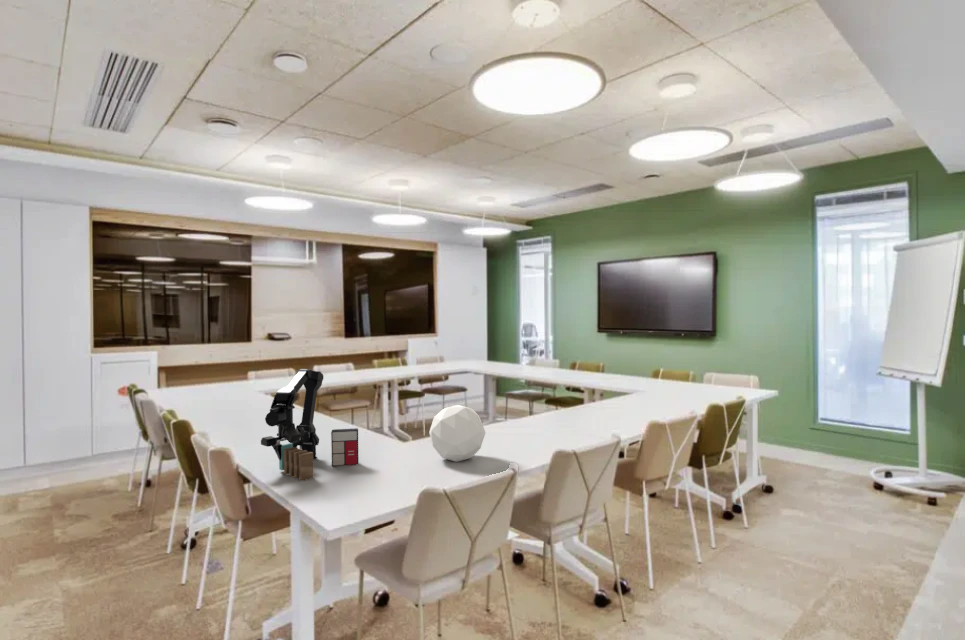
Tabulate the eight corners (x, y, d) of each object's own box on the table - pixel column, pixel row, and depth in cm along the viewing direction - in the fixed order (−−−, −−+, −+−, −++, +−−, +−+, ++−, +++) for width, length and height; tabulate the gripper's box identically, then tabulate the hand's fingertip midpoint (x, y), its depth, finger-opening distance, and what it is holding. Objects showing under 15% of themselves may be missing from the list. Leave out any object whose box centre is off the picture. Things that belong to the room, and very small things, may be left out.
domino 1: (279, 469, 217) (279, 445, 217) (290, 466, 221) (290, 442, 221) (281, 470, 216) (281, 445, 216) (293, 467, 220) (292, 443, 219)
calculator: (331, 467, 223) (331, 431, 223) (332, 464, 227) (331, 429, 227) (358, 465, 225) (357, 430, 225) (358, 462, 230) (358, 428, 229)
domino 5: (299, 479, 206) (298, 454, 206) (310, 476, 210) (310, 451, 210) (301, 480, 205) (301, 455, 205) (313, 477, 209) (313, 452, 209)
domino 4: (294, 477, 209) (293, 452, 209) (305, 474, 213) (305, 450, 213) (296, 478, 208) (296, 453, 208) (308, 475, 212) (307, 450, 211)
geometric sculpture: (463, 482, 228) (460, 445, 212) (421, 454, 240) (415, 417, 224) (496, 446, 242) (495, 409, 226) (454, 421, 254) (451, 385, 239)
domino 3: (289, 475, 212) (288, 450, 212) (300, 472, 216) (300, 448, 215) (291, 476, 210) (291, 451, 210) (303, 473, 214) (302, 449, 214)
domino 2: (284, 473, 214) (283, 449, 214) (295, 470, 218) (295, 446, 218) (286, 474, 213) (286, 450, 213) (298, 471, 217) (297, 447, 217)
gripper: (273, 427, 206) (273, 467, 206) (316, 420, 220) (316, 457, 220) (259, 423, 213) (260, 462, 213) (302, 416, 227) (303, 452, 227)
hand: (286, 458), depth 218 cm, fingers closed on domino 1, 5 cm apart
